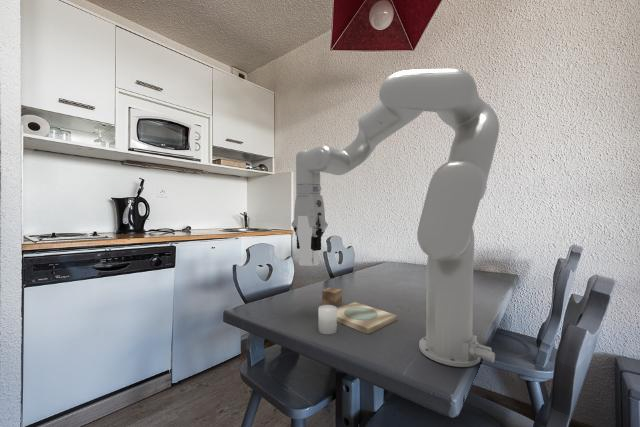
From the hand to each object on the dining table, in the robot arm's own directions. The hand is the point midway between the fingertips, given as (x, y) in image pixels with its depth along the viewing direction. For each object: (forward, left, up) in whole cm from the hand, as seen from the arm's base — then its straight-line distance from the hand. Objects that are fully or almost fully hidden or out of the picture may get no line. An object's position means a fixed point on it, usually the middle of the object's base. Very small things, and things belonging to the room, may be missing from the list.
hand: (308, 248), depth 84 cm
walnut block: (+2, -13, -21) cm, 24 cm away
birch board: (-13, -10, -20) cm, 26 cm away
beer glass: (0, 0, -5) cm, 5 cm away
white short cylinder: (-12, +3, -21) cm, 24 cm away
